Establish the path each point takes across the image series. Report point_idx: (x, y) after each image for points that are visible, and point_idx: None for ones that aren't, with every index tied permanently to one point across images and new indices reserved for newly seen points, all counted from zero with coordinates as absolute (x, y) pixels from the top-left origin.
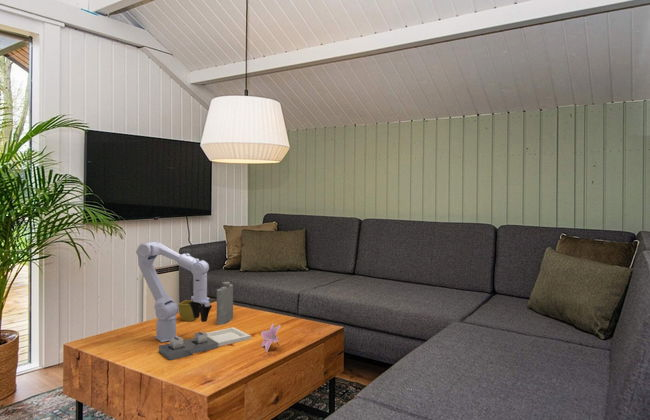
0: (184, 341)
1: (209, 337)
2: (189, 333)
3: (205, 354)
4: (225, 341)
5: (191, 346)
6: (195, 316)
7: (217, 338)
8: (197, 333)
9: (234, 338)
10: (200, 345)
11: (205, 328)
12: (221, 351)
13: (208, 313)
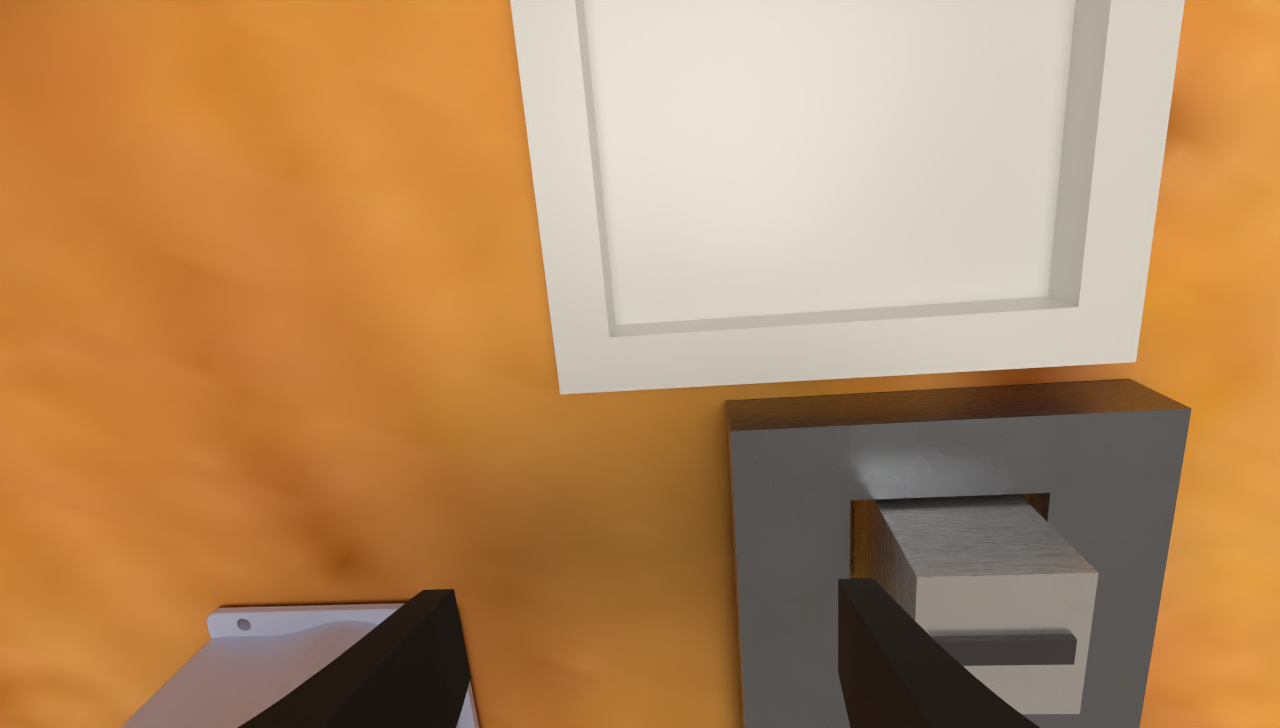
0: (792, 710)
1: (797, 374)
2: (286, 434)
3: (1192, 565)
4: (1151, 239)
5: (1047, 717)
6: (453, 692)
7: (757, 218)
8: None
9: (1139, 34)
10: (1098, 624)
11: (139, 163)
12: (1261, 369)
13: (1018, 716)
